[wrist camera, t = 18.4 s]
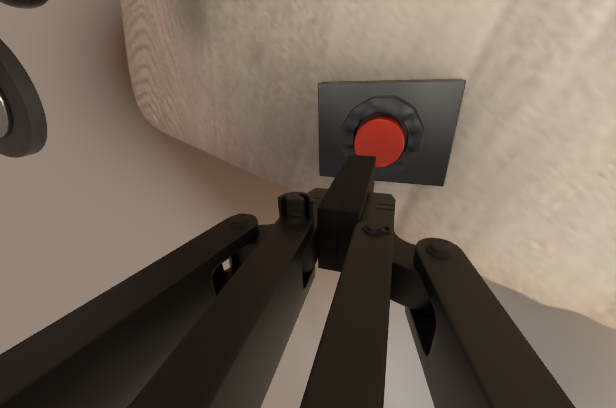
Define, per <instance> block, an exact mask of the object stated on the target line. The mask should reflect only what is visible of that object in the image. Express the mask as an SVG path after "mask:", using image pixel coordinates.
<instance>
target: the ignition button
mask: <svg viewBox="0 0 616 408" xmlns="http://www.w3.org/2000/svg"><path fill="white" fill-rule="evenodd" d="M354 147H355V151H356V154H357V155H364V156H376V166H375V167H384V166H387V165H390V164H392V163H393V162H395V161H396V160H397V159H398V158H399V157H400V155H401V153H402V151H403V148H404V131H403V128H402V127H401V125H400V124H399V123H398V122H397V121H396V120H395V119H393V118H391V117H388V116H375V117H372V118H370V119H369V120H367V121H366V122H365V123H364V124H363V125H362V126H361V128H360V129H359V130H358V132H357V134H356V136H355V140H354Z"/></svg>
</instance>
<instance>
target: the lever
mask: <svg viewBox="0 0 616 408" xmlns="http://www.w3.org/2000/svg"><path fill="white" fill-rule="evenodd" d="M47 1H48V0H0V2H2V3H4V4H7V5H9V6H13V7H17V8H24V9H25V8H26V9H31V8H36V7H39V6H42V5H43V4H45V3H46V2H47Z"/></svg>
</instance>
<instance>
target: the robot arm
mask: <svg viewBox="0 0 616 408" xmlns="http://www.w3.org/2000/svg"><path fill="white" fill-rule="evenodd" d="M12 130H13V115H12V111H11V108H10V105H9V102H8V100H7V97H6V95H5V93H4V91H3V89H2V88H1V86H0V138H3V137H7V136H9V135H10V134H11V132H12ZM375 166H376V156H364V155H349V156H348V157H347V159H346V161H345V162H344V164H343V166H342V167H341V169H340V171H339V172H338V174H337V176H336V177H335V179H334V181H333V182H332V184H331V186H330V187H329V189H321V188H315V189H313V190H311V191H310V192H308V194H307V193H303V192H290V193H286V194H283V195H281V196H279V197H278V204H279V214H280V217H279V219H278V220H277V221H276V223H275V224H270V225H258V220H257V218H256V217H255V216H253V215H250V214H238V215H234V216H232V217H229V218H227V219H225V220H224V221H222V222H220V223H219V224H217V225H215V226H214V227H212V228H210V229H209V230H207V231H205V232H204V233H202V234H200V235H199V236H197V237H195V238H194V239H192V240H190V241H189V242H187V243H186V244H184V245H182V246H181V247H179V248H177V249H176V250H174V251H172V252H170V253H169V254H167V255H166V256H164V257H162V258H161V259H159V260H157V261H155V262H154V263H152V264H150V265H149V266H147V267H145V268H144V269H142V270H141V271H139V272H137V273H135V274H134V275H132V276H130V277H129V278H127V279H126V280H124V281H122V282H120V283H119V284H117V285H116V286H114V287H112V288H110V289H109V290H107V291H106V292H104V293H102V294H101V295H99V296H97V297H95V298H94V299H92V300H90V301H89V302H87V303H86V304H84V305H82V306H81V307H79V308H77V309H76V310H74V311H72V312H71V313H69V314H67V315H66V316H64V317H62V318H61V319H59V320H57V321H56V322H54V323H52V324H51V325H49V326H47V327H46V328H44V329H42V330H41V331H39V332H37V333H36V334H34V335H32V336H31V337H29V338H27V339H26V340H24V341H22V342H21V343H19V344H17V345H16V346H14V347H12V348H11V349H9V350H7V351H6V352H4V353H2V354H1V355H0V408H261V405H262V403H263V400H264V398H265V396H266V393H267V391H268V388H269V386H270V383H271V381H272V379H273V376H274V374H275V371H276V369H277V367H278V364H279V362H280V359H281V357H282V354H283V352H284V350H285V347H286V345H287V342H288V340H289V337H290V335H291V333H292V330H293V327H294V325H295V323H296V321H297V318H298V316H299V313H300V311H301V308H302V306H303V304H304V301H305V298H306V296H307V294H308V291H309V289H310V287H311V284H312V282H313V279H314V277H315V264H316V262H317V259H318V263H319V264H318V265H319V266H318V267H319V268H323V269H328V270H333V271H339V272H341V274H340V278H339V281H338V284H337V287H336V291H335V294H334V297H333V301H332V304H331V307H330V310H329V314H328V317H327V320H326V323H325V327H324V330H323V333H322V337H321V340H320V343H319V347H318V350H317V353H316V356H315V360H314V363H313V366H312V369H311V373H310V376H309V380H308V383H307V386H306V389H305V392H304V396H303V399H302V402H301V406H300V408H383V404H384V388H385V372H386V356H387V340H388V324H389V307H390V300H393V301H395V302H397V303H399V304H401V305H403V306H405V313H406V316H407V319H408V323H409V326H410V329H411V332H412V335H413V339H414V342H415V345H416V348H417V352H418V355H419V358H420V361H421V364H422V367H423V371H424V374H425V377H426V381H427V384H428V387H429V390H430V394H431V396H432V400H433V403H434V406H435V408H575V406H574V405H573V404H572V402H571V401H570V400H569V398H568V397H567V396H566V394H565V393H564V391H563V390H562V388H561V387H560V386H559V384H558V383H557V381H556V380H555V379H554V377H553V376H552V374H551V373H550V372H549V370H548V369H547V368H546V366H545V365H544V363H543V362H542V361H541V359H540V358H539V357H538V355H537V354H536V352H535V351H534V350H533V348H532V347H531V345H530V344H529V343H528V341H527V340H526V338H525V337H524V336H523V334H522V333H521V331H520V330H519V329H518V327H517V326H516V325H515V323H514V322H513V320H512V319H511V318H510V316H509V315H508V313H507V312H506V311H505V309H504V308H503V307H502V305H501V304H500V302H499V301H498V300H497V298H496V297H495V296H494V294H493V293H492V291H491V290H490V288H489V287H488V286H487V284H486V283H485V282H484V280H483V279H482V277H481V276H480V275H479V273H478V272H477V270H476V269H475V268H474V266H473V265H472V263H471V262H470V261H469V259H468V258H467V257H466V255H465V254H464V252H463V251H462V250H461V249H460V248H459V247H458V246H457V245H455V244H453V243H451V242H449V241H447V240H443V239H440V238H425V239H422V240H420V241H418V243H417V244H416V245H414V244H411V243H408V242H406V241H404V240H402V239H400V238H399V237H398V236H397V235H396V234H395V232H394V214H395V199H394V197H393V196H392V195H391V194H383V193H373V190H374V178H375ZM227 259H229V263H230V268H229V269H227V270H225V271H224V269H223V266H222V263H223V262H224V261H226V260H227Z"/></svg>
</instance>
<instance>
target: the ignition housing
mask: <svg viewBox="0 0 616 408" xmlns="http://www.w3.org/2000/svg"><path fill="white" fill-rule="evenodd" d="M465 83H466V80H463V79H432V80H386V81H340V82H322V83H318V108H319V172H320V176H327V177H336V176H337V174H338V172H339V171H340V169H341V167H342V166H343V164H344V162H345V161H346V159H347V157H348V156H349V155H357V154H356V151H355V147H354V140H355V136H356V134H357V132H358V130H359V129H360V128H361V126H362V125H363V124H364V123H365V122H366V121H367V120H369V119H370V118H372V117H375V116H388V117H391V118H393V119H395V120H396V121H397V122H398V123H399V124H400V125H401V127H402V128H403V131H404V148H403V151H402V153H401V155H400V157H399V158H398V159H397V160H396V161H395V162H393V163H392V164H390V165H387V166H384V167H375V178H374V181H386V182H397V183H409V184H421V185H433V186H444V182H445V177H446V172H447V167H448V163H449V158H450V153H451V149H452V144H453V139H454V135H455V130H456V125H457V120H458V116H459V111H460V106H461V102H462V97H463V92H464V88H465Z"/></svg>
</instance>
